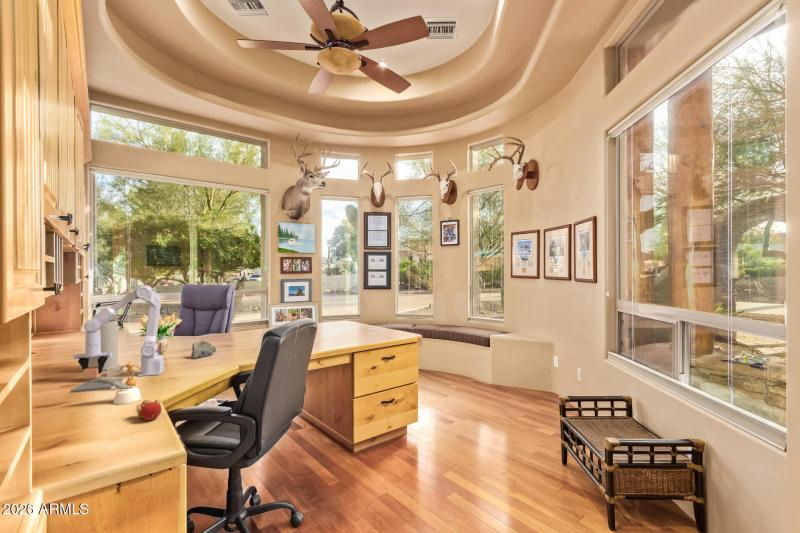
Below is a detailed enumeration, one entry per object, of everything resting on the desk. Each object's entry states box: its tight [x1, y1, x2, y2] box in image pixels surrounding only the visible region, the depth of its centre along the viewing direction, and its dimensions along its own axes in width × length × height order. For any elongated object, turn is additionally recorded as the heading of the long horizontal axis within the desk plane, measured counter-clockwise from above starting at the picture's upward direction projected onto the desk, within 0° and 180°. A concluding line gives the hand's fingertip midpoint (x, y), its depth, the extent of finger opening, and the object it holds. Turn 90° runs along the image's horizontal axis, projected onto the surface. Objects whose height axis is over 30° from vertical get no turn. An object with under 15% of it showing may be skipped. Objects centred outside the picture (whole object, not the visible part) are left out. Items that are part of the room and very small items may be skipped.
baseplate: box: [70, 377, 124, 393], centre depth 166 cm, size 14×14×1 cm
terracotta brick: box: [83, 366, 104, 380], centre depth 176 cm, size 5×6×4 cm
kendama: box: [136, 398, 162, 421], centre depth 133 cm, size 8×6×18 cm
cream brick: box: [106, 364, 125, 377], centre depth 185 cm, size 5×6×4 cm
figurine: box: [119, 360, 142, 387], centre depth 163 cm, size 8×6×12 cm
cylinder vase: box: [88, 319, 119, 372], centre depth 196 cm, size 12×12×25 cm
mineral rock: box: [190, 339, 217, 360], centre depth 223 cm, size 13×11×10 cm
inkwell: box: [87, 376, 143, 405], centre depth 146 cm, size 9×18×10 cm, turn 113°
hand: (93, 373), depth 176 cm, fingers closed on terracotta brick, 5 cm apart
